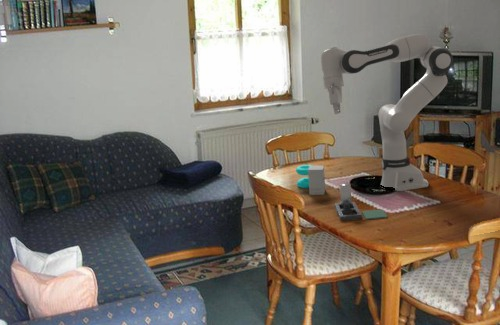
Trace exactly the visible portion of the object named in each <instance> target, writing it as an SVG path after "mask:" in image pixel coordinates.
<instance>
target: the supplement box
mask: <svg viewBox="0 0 500 325" xmlns="http://www.w3.org/2000/svg"><path fill="white" fill-rule="evenodd" d="M307 176H308V177H307V178H309V188H308V189H309V193H308V194H309V195H311V196H315V195H317V196H318V195H319V196H321V195H322V196H323V195H325V193H326V181H325V180H326V179H325V178H326V177H325V166H324V165H312V166H309V169H308V175H307Z"/></svg>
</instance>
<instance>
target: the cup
mask: <svg viewBox="0 0 500 325" xmlns="http://www.w3.org/2000/svg"><path fill="white" fill-rule="evenodd" d="M339 192H340V195H339V196H340V203H341V209H348V208H352V203H351V202H352V188H351V183H349V182H343V183H340V184H339Z"/></svg>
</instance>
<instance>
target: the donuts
mask: <svg viewBox="0 0 500 325" xmlns="http://www.w3.org/2000/svg"><path fill="white" fill-rule="evenodd" d="M309 166H313V164H312V165H311V164H302V165H299V166H297V167H296V169H295V171H296V173H297V174H298V175H300V176H308V169H309ZM296 186H297V187H298V188H300V189H309V177H302V178H300V179H298V180H297V182H296Z"/></svg>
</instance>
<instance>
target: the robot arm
mask: <svg viewBox="0 0 500 325" xmlns="http://www.w3.org/2000/svg"><path fill="white" fill-rule="evenodd" d="M320 56H321V57H320V59H321V60H320V62H321V71H322V72H323V77H322V78H323V86H324V89H325V90H327V92H328V95H329V103H330V105H332V107H333V112H334V115H338V114H341V104H342V102H343V94H342V93H343V91H342V90H343V89H342V87H344V77H343V74H346V75H352V74H358V73H359V72H361V71H363V70H364V69H365V68H366V67H368V66H371V65H374V64H378V63H381V62H391V63H401V62H407V61H410V60H413V59H418V61H419V64H420V65H421V66H422V67H423V68H425V69H426V72H425V73H424V75H423V76H422V77H421V78H420V79H418V80H417V81H415V83H414V84H413V85H411V86H410V88H408V89H407V90H406V91H405V92H404V93H403V95H402V97H401V98H400V99H399V101H398V102H397V103H396V104H394V103H393V104H392V103H387V104H384V105H383V106H381V107H380V108H379V111H378V114H377V115H378V120H379V128H380V129H379V130H380V135H381V142H382V157H381V168H382V169H381V170H382V176H381V181H380V185H382V186H384V187H393V188H395V190H394V191H397V192H404V191H411V190H416V189H421V188H422V189H423V188H428V187H429V182H428V180H427V179H425V178H424V174H423V173H422V171H421V170H420V169H419V168H418V167H416V166H415V165H413V164H414V159H413V158H412V157H409V156H408V155H407V138H406V136H405V131H406V130H407V129H409V127H410V124H411V122H412V121H413V120H414V119H415V118H416V116H417V115H418V114H419V113H420V111H422V110H423V108H425V107H426V106H427V105H428V104H429V103H430V102H431V101H433V100H434V99H436V97H437V96H438V95H439V94H440V93H441V92H442V91H443V89H445V87H446V86H447V85H448V77H447V74H448V73H449V71H450V68H451V67H452V65H453V62H454V57H453V54H452V53H451V51H450V50H448V49H446V48H443V47H441V46H435V45H431V40H430V39H429V37H428V36H427V35H426V34H424V33H413V34H409V35H407V34H406V35H404V36H400V37H397V38H394V39H393V40H390V41H388V42H387V43H386V44H384V45H383V46H381V47H376V48H373V49H369V50H363V51H362V50H356V49H352V50H349V51H345V50H342V49H340V48H338V47H331V48H328V49H326V50H324V51H322V53H321V55H320Z"/></svg>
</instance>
